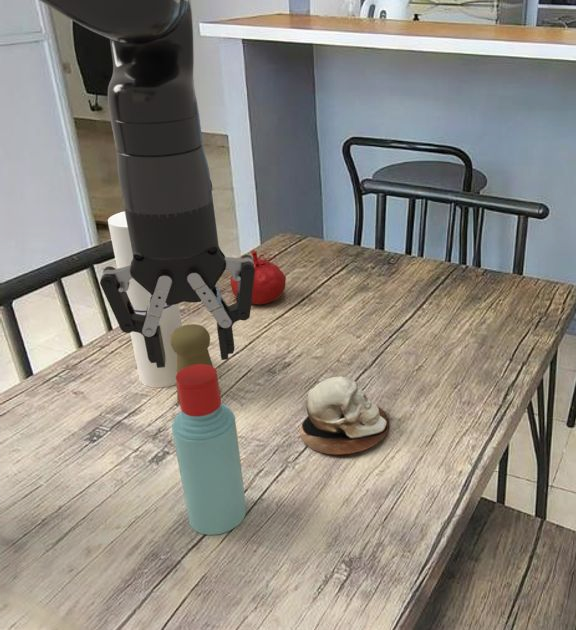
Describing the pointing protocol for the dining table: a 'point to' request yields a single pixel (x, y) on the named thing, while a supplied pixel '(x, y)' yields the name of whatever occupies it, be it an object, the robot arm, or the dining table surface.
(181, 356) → the brown pawn
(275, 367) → the dining table surface
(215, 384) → the cap
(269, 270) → the pomegranate
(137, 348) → the cylindrical container
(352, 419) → the skull
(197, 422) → the bottle
